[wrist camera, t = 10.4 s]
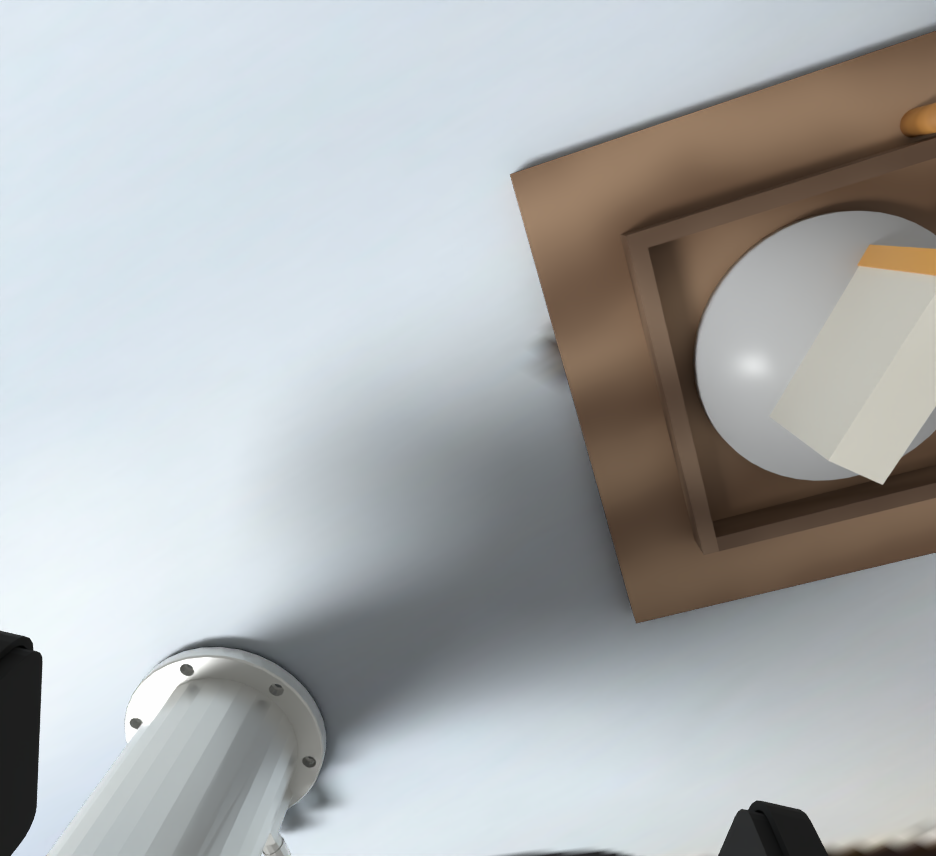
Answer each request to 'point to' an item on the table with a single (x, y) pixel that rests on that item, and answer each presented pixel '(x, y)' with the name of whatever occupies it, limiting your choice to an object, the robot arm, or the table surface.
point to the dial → (824, 347)
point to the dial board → (680, 309)
